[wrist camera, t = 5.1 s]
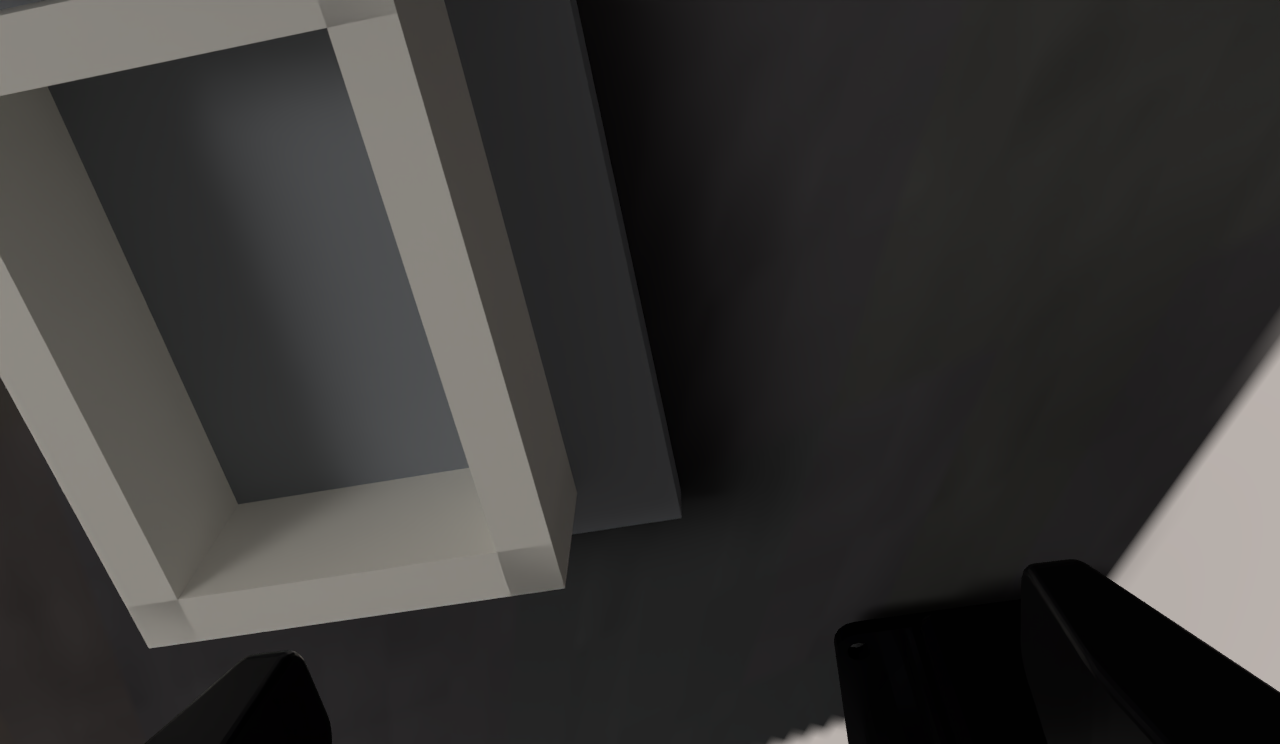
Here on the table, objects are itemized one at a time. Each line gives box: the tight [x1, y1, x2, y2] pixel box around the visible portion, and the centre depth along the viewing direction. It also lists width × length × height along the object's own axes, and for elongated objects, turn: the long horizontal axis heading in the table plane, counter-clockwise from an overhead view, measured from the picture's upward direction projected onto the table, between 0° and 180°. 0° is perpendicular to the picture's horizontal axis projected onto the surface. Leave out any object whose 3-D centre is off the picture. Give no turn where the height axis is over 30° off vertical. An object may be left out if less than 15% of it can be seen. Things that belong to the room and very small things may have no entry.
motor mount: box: [0, 0, 682, 648], centre depth 15 cm, size 20×12×7 cm, turn 11°
